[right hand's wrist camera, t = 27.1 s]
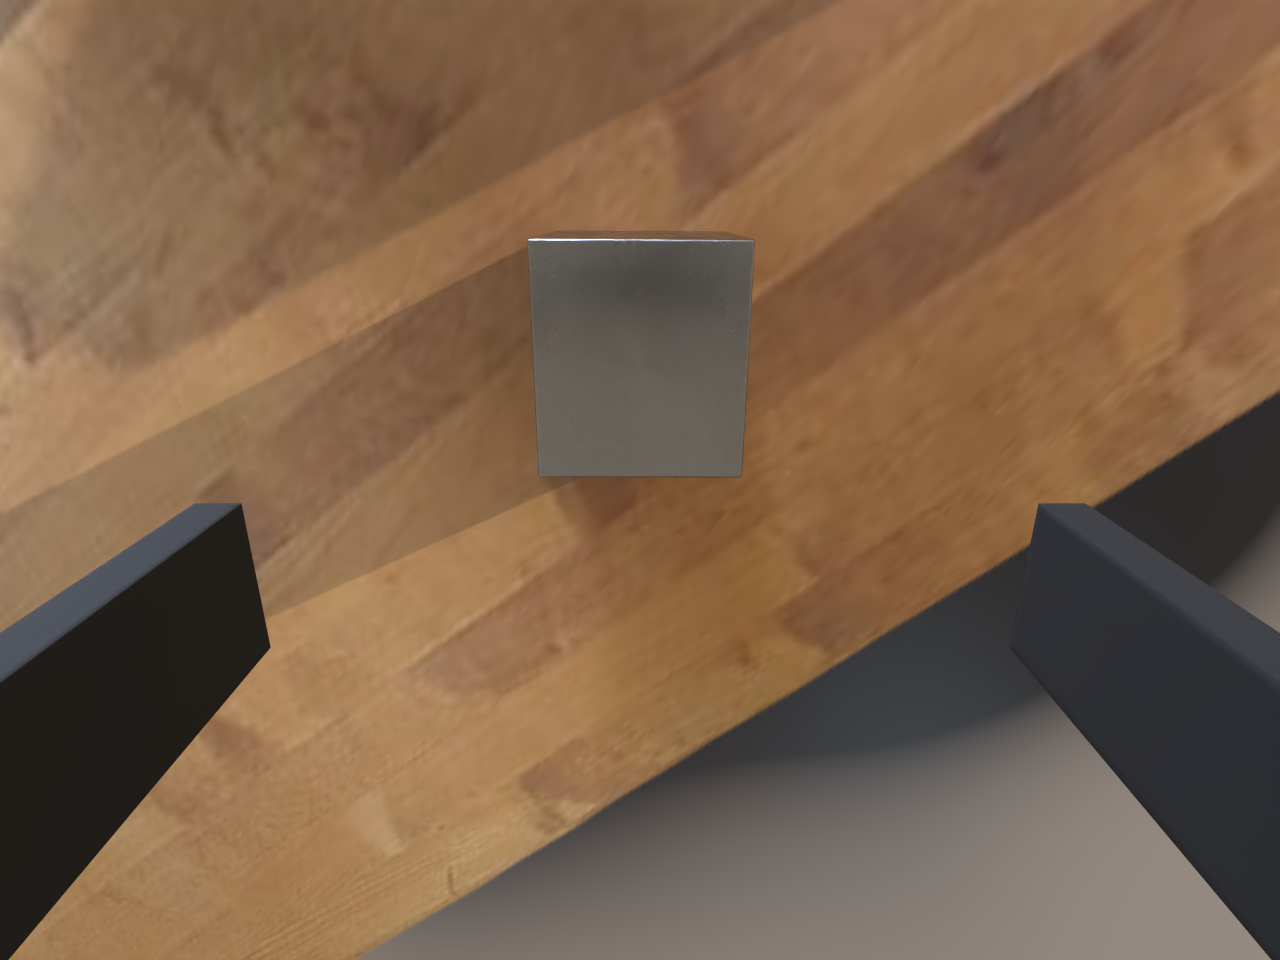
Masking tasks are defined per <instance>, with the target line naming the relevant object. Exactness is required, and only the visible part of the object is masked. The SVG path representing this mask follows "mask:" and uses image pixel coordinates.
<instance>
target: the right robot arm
mask: <svg viewBox="0 0 1280 960" xmlns="http://www.w3.org/2000/svg"><path fill="white" fill-rule="evenodd" d="M269 649H270V642H269V637H268V633H267V628H266V623H265V618H264V613H263V608H262V603H261V598H260V593H259V588H258V583H257V578H256V574H255V569H254V564H253V559H252V554H251V549H250V544H249V539H248V534H247V529H246V524H245V519H244V515H243V510H242V505H241V504H193V505H192V506H190V507H189V508H187V509H186V510H184V511H183V512H181V513H180V514H178V515H177V516H175V517H174V518H172V519H171V520H169V521H168V522H166V523H165V524H163V525H162V526H160V527H159V528H157V529H156V530H154V531H153V532H151V533H150V534H148V535H147V536H145V537H144V538H142V539H141V540H139V541H138V542H136V543H135V544H133V545H132V546H130V547H129V548H127V549H126V550H124V551H123V552H121V553H120V554H118V555H117V556H115V557H114V558H112V559H111V560H109V561H108V562H106V563H105V564H103V565H102V566H100V567H99V568H97V569H96V570H94V571H93V572H91V573H90V574H88V575H87V576H85V577H84V578H82V579H81V580H79V581H78V582H76V583H75V584H73V585H72V586H70V587H69V588H67V589H66V590H64V591H63V592H61V593H60V594H58V595H57V596H55V597H54V598H52V599H51V600H49V601H48V602H46V603H45V604H43V605H42V606H40V607H39V608H37V609H36V610H34V611H33V612H31V613H30V614H28V615H27V616H25V617H24V618H22V619H21V620H19V621H18V622H16V623H15V624H13V625H12V626H10V627H9V628H7V629H6V630H4V631H3V632H1V633H0V960H9V958H10V957H11V956H12V955H13V954H14V952H15V951H16V950H17V949H18V948H19V947H20V945H21V944H22V943H23V942H24V941H25V939H26V938H27V937H28V936H29V935H30V933H31V932H32V931H33V930H34V929H35V927H36V926H37V925H38V924H39V923H40V921H41V920H42V919H43V918H44V917H45V916H46V914H47V913H48V912H49V911H50V910H51V908H52V907H53V906H54V905H55V904H56V902H57V901H58V900H59V899H60V898H61V896H62V895H63V894H64V893H65V892H66V891H67V889H68V888H69V887H70V886H71V885H72V883H73V882H74V881H75V880H76V879H77V877H78V876H79V875H80V874H81V873H82V871H83V870H84V869H85V868H86V867H87V865H88V864H89V863H90V862H91V861H92V860H93V858H94V857H95V856H96V855H97V854H98V852H99V851H100V850H101V849H102V848H103V846H104V845H105V844H106V843H107V842H108V840H109V839H110V838H111V837H112V836H113V835H114V833H115V832H116V831H117V830H118V829H119V827H120V826H121V825H122V824H123V823H124V821H125V820H126V819H127V818H128V817H129V815H130V814H131V813H132V812H133V811H134V809H135V808H136V807H137V806H138V805H139V804H140V802H141V801H142V800H143V799H144V798H145V796H146V795H147V794H148V793H149V792H150V790H151V789H152V788H153V787H154V786H155V784H156V783H157V782H158V781H159V780H160V779H161V777H162V776H163V775H164V774H165V773H166V771H167V770H168V769H169V768H170V767H171V765H172V764H173V763H174V762H175V761H176V759H177V758H178V757H179V756H180V755H181V753H182V752H183V751H184V750H185V749H186V748H187V746H188V745H189V744H190V743H191V742H192V740H193V739H194V738H195V737H196V736H197V734H198V733H199V732H200V731H201V730H202V728H203V727H204V726H205V725H206V724H207V723H208V721H209V720H210V719H211V718H212V717H213V715H214V714H215V713H216V712H217V711H218V709H219V708H220V707H221V706H222V705H223V703H224V702H225V701H226V700H227V699H228V697H229V696H230V695H231V694H232V693H233V692H234V690H235V689H236V688H237V687H238V686H239V684H240V683H241V682H242V681H243V680H244V678H245V677H246V676H247V675H248V674H249V672H250V671H251V670H252V669H253V668H254V666H255V665H256V664H257V663H258V662H259V661H260V659H261V658H262V657H263V656H264V655H265V653H266V652H267V651H268V650H269ZM1010 649H1011V650H1012V651H1013V652H1014V653H1015V654H1016V656H1017V657H1018V658H1019V659H1020V661H1021V662H1022V663H1023V664H1024V665H1025V666H1026V668H1027V669H1028V670H1029V671H1030V672H1031V674H1032V675H1033V676H1034V677H1035V678H1036V680H1037V681H1038V682H1039V683H1040V684H1041V685H1042V687H1043V688H1044V689H1045V690H1046V691H1047V693H1048V694H1049V695H1050V696H1051V697H1052V699H1053V700H1054V701H1055V702H1056V703H1057V705H1058V706H1059V707H1060V708H1061V709H1062V711H1063V712H1064V713H1065V714H1066V715H1067V716H1068V718H1069V719H1070V720H1071V721H1072V723H1073V724H1074V725H1075V726H1076V727H1077V728H1078V730H1079V731H1080V732H1081V733H1082V734H1083V736H1084V737H1085V738H1086V739H1087V740H1088V742H1089V743H1090V744H1091V745H1092V746H1093V748H1094V749H1095V750H1096V751H1097V752H1098V753H1099V755H1100V756H1101V757H1102V758H1103V759H1104V761H1105V762H1106V763H1107V764H1108V765H1109V767H1110V768H1111V769H1112V770H1113V771H1114V773H1115V774H1116V775H1117V776H1118V777H1119V779H1120V780H1121V781H1122V782H1123V783H1124V784H1125V786H1126V787H1127V788H1128V789H1129V790H1130V792H1131V793H1132V794H1133V795H1134V796H1135V798H1136V799H1137V800H1138V801H1139V802H1140V804H1141V805H1142V806H1143V807H1144V808H1145V809H1146V811H1147V812H1148V813H1149V814H1150V815H1151V817H1152V818H1153V819H1154V820H1155V821H1156V822H1157V824H1158V825H1159V826H1160V827H1161V829H1162V830H1163V831H1164V832H1165V833H1166V834H1167V836H1168V837H1169V838H1170V839H1171V840H1172V842H1173V843H1174V844H1175V845H1176V846H1177V848H1178V849H1179V850H1180V851H1181V852H1182V854H1183V855H1184V856H1185V857H1186V858H1187V860H1188V861H1189V862H1190V863H1191V864H1192V865H1193V867H1194V868H1195V869H1196V870H1197V871H1198V873H1199V874H1200V875H1201V876H1202V877H1203V878H1204V880H1205V881H1206V882H1207V883H1208V885H1209V886H1210V887H1211V888H1212V889H1213V891H1214V892H1215V893H1216V894H1217V895H1218V896H1219V898H1220V899H1221V900H1222V901H1223V902H1224V904H1225V905H1226V906H1227V907H1228V908H1229V910H1230V911H1231V912H1232V913H1233V914H1234V916H1235V917H1236V918H1237V919H1238V920H1239V921H1240V923H1241V924H1242V925H1243V926H1244V927H1245V929H1246V930H1247V931H1248V932H1249V933H1250V935H1251V936H1252V937H1253V938H1254V939H1255V941H1256V942H1257V943H1258V944H1259V945H1260V947H1261V948H1262V949H1263V950H1264V951H1265V952H1266V954H1267V955H1268V956H1269V957H1270V958H1271V960H1280V633H1279V632H1277V631H1276V630H1274V629H1273V628H1271V627H1270V626H1268V625H1267V624H1265V623H1264V622H1262V621H1261V620H1259V619H1258V618H1256V617H1255V616H1253V615H1252V614H1250V613H1249V612H1247V611H1246V610H1244V609H1243V608H1241V607H1240V606H1238V605H1237V604H1235V603H1234V602H1232V601H1231V600H1229V599H1228V598H1226V597H1225V596H1223V595H1222V594H1220V593H1219V592H1217V591H1216V590H1214V589H1213V588H1211V587H1210V586H1208V585H1207V584H1205V583H1204V582H1202V581H1201V580H1199V579H1198V578H1196V577H1195V576H1193V575H1192V574H1190V573H1189V572H1187V571H1186V570H1184V569H1183V568H1181V567H1180V566H1178V565H1177V564H1175V563H1174V562H1172V561H1171V560H1169V559H1168V558H1166V557H1165V556H1163V555H1162V554H1160V553H1159V552H1157V551H1156V550H1154V549H1153V548H1151V547H1150V546H1148V545H1147V544H1145V543H1144V542H1142V541H1141V540H1139V539H1138V538H1136V537H1135V536H1133V535H1132V534H1130V533H1129V532H1127V531H1126V530H1124V529H1123V528H1121V527H1120V526H1118V525H1117V524H1115V523H1114V522H1112V521H1111V520H1109V519H1108V518H1106V517H1105V516H1103V515H1102V514H1100V513H1099V512H1097V511H1096V510H1094V509H1093V508H1091V507H1090V506H1088V505H1087V504H1039V505H1038V510H1037V515H1036V519H1035V524H1034V529H1033V534H1032V539H1031V544H1030V549H1029V554H1028V559H1027V564H1026V569H1025V574H1024V579H1023V583H1022V588H1021V593H1020V598H1019V603H1018V608H1017V613H1016V618H1015V623H1014V628H1013V633H1012V637H1011V642H1010Z"/></svg>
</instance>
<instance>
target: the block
mask: <svg viewBox="0 0 1280 960" xmlns="http://www.w3.org/2000/svg"><path fill="white" fill-rule="evenodd" d="M754 247H755V241H754V240H752V239H749V238H745V237H742V236H738V235H735V234H731V233H728V232H679V231H555V232H552V233H548V234H544V235H541V236H537V237H534V238H530V239H528V261H529V282H530V304H531V325H532V346H533V367H534V389H535V410H536V431H537V453H538V474H539V476H540V477H741V476H742V465H743V446H744V428H745V410H746V392H747V374H748V356H749V338H750V320H751V301H752V283H753V265H754Z"/></svg>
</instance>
